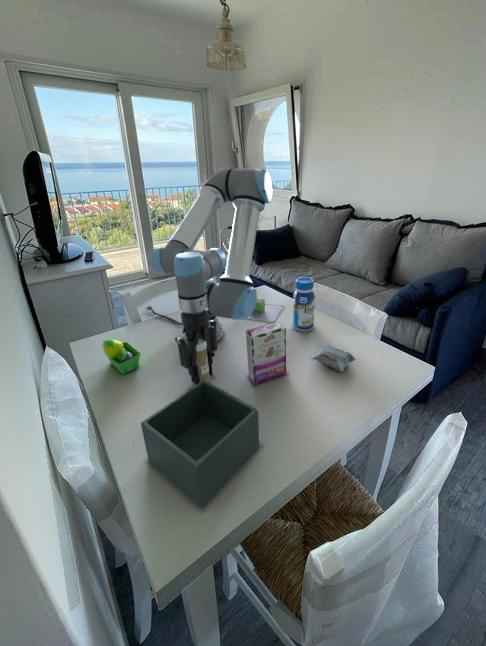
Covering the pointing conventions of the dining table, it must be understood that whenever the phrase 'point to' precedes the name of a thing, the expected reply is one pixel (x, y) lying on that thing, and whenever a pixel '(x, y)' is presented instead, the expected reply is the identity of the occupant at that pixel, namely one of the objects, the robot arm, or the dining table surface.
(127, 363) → the fruit basket
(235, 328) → the dining table surface
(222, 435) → the grey storage bin
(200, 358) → the sprinkles bottle
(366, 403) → the dining table surface
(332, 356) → the packaged food
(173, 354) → the dining table surface
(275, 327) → the candy bar box
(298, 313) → the beverage bottle
